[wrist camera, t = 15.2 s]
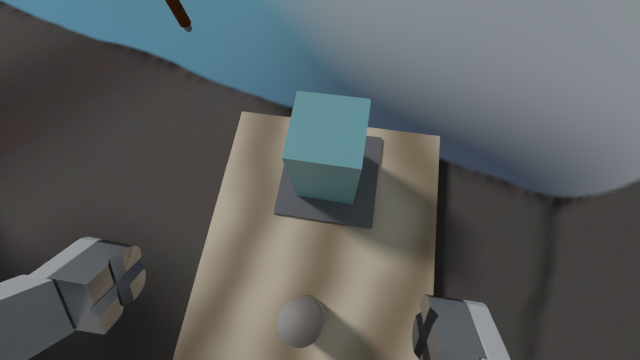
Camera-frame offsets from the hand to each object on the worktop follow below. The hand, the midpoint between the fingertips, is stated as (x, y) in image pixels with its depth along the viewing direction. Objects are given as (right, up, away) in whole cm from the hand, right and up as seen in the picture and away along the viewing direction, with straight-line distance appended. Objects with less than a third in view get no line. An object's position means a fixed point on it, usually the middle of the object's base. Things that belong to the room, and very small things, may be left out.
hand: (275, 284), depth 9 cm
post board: (+1, -3, +17) cm, 17 cm away
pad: (+2, +3, +17) cm, 17 cm away
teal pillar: (+2, +4, +17) cm, 17 cm away
